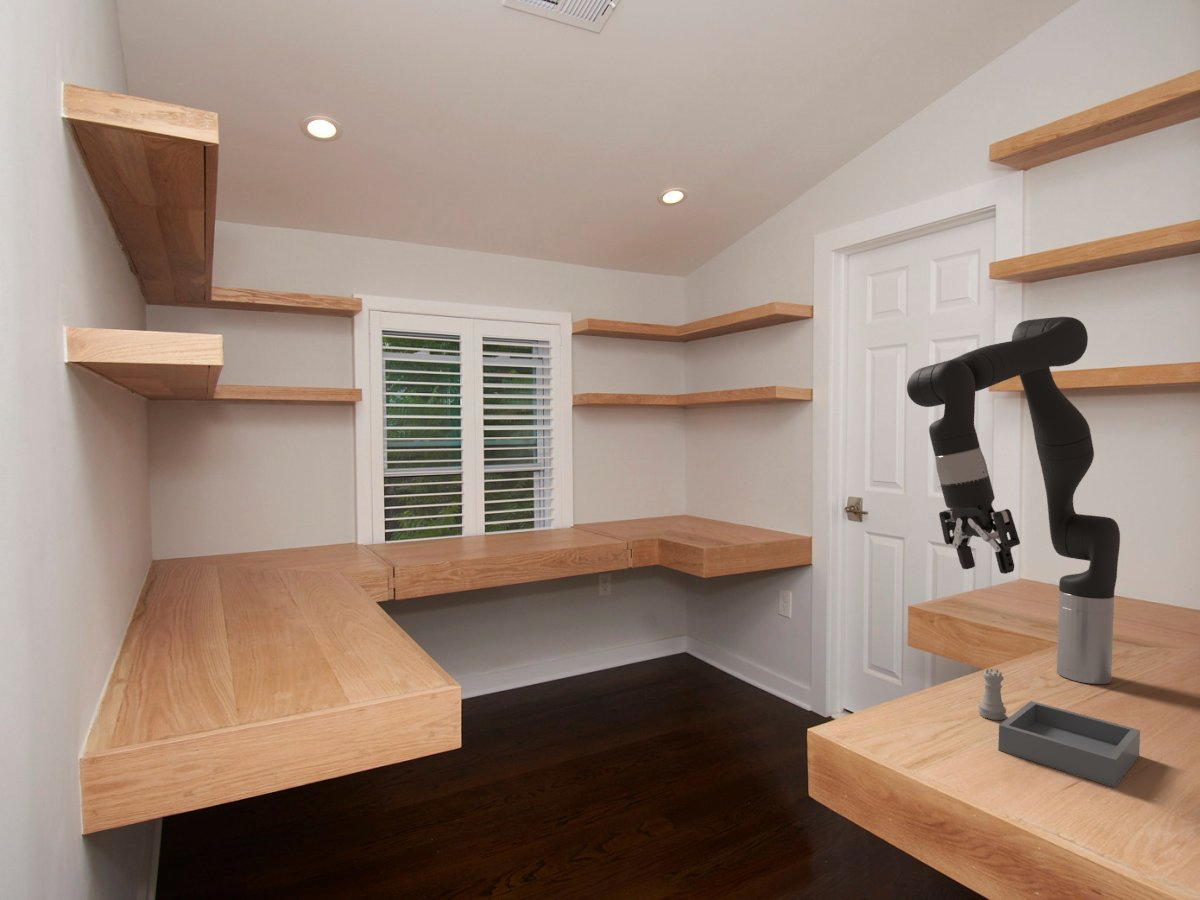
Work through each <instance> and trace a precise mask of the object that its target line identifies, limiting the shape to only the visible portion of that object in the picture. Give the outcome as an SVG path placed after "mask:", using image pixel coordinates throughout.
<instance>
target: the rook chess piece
mask: <svg viewBox="0 0 1200 900" xmlns="http://www.w3.org/2000/svg"><path fill="white" fill-rule="evenodd" d="M982 677H983V678H984V680H985V681H984V683H983V685H984V693H983V697H982V699H980V700H981V701H979V704H978V708H979V709H977V712H978V714H979V715H980V716H981V717H982V716H983V717H982V718H984V717H985V718H984V719H986V718H988V719H987V720H990V719H991V721H995V720H1002V721H1004V720H1006V719H1007V717H1008V716H1007V714H1006V713H1007V708H1006V707H1005V706H1004V702H1003V700H1002V687H1003V685H1002V683H1001V682H1003V681H1004V679H1005V677H1004V676H1003V674H1002V671H999V670H998V669H995V670H994V669H993V668H989V669H988V668H986V669H985V670H984V672H983V674H982ZM1003 719H1004V720H1003Z"/></svg>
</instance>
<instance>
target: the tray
mask: <svg viewBox="0 0 1200 900" xmlns="http://www.w3.org/2000/svg"><path fill="white" fill-rule="evenodd" d="M1140 738H1141V729H1138V728H1133V727H1130V726H1127V725H1123V724H1118V723H1115V722H1112V721H1107V720H1105V719H1100V718H1096V717H1092V716H1089V715H1085V714H1081V713H1078V712H1074V711H1070V710H1066V709H1064V708H1063V709H1062V708H1059V707H1055V706H1051V705H1048V704H1044V703H1040V702H1038V701H1037V702H1036V701H1033V700H1030V701H1028V702H1027V703H1026V704H1025V705H1023V706H1022V707H1021V708H1019V709H1018V710H1017V711H1016V712H1014V713H1013V714H1012V715H1010V716H1009V717H1008V718H1005V719H1004V720H1003V721H1001V723H1000V724H998V751H1000V752H1002V751H1003V753H1005V754H1006V753H1007V754H1009V755H1012V756H1016V757H1017V758H1018V757H1019V758H1022V759H1023V760H1024V759H1025V760H1027V759H1028V760H1027V761H1030V760H1031V762H1033V761H1034V763H1036V762H1037V764H1039V763H1040V765H1043V764H1044V765H1043V766H1046V765H1047V766H1046V767H1049V768H1052V769H1055V768H1056V769H1055V770H1059V771H1061V770H1062V771H1061V772H1064V771H1065V773H1068V774H1070V775H1074V776H1076V775H1078V777H1079V776H1080V778H1083V777H1084V778H1083V779H1086V778H1087V779H1086V780H1089V779H1091V780H1090V781H1092V780H1094V781H1093V782H1095V781H1096V782H1095V783H1098V782H1099V783H1098V784H1101V783H1102V785H1104V784H1105V785H1104V786H1107V785H1108V787H1110V786H1111V787H1110V788H1113V789H1116V788H1117V786H1118V785H1119V783H1120V782H1121V781H1120V780H1122V779H1123V778H1124V777H1123V776H1125V775H1126V774H1127V773H1128V771H1129V770H1130V769H1129V768H1131V767H1132V766H1133V764H1134V763H1135V762H1136V760H1138V757H1139V756H1140V748H1141V747H1140V744H1141V743H1140V742H1141V739H1140ZM1126 772H1127V773H1126ZM1124 774H1125V775H1124ZM1122 777H1123V778H1122ZM1119 781H1120V782H1119ZM1117 784H1118V785H1117Z"/></svg>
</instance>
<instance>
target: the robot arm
mask: <svg viewBox="0 0 1200 900" xmlns="http://www.w3.org/2000/svg"><path fill="white" fill-rule="evenodd" d="M1088 337H1089V336H1088V331H1087V328H1086V326H1085V324H1084V323H1083V322H1082V321H1081V320H1080V319H1077V318H1075V317H1071V316H1056V317H1044V318H1035V319H1026V320H1023V321H1020V322H1019V323H1018V324H1017V325H1016V326H1015V327H1014V329H1013V332H1012V336H1011V341H1005V342H999V343H993V344H989V345H985V346H982V347H979V348H977V349H974V350H971V351H968V352H965V353H963V354H961V355H959V356H957V357H954V358H953V359H949V360H944V361H942V362H941V361H940V362H937V363H935V364H931V365H928V366H924V367H923V366H922V367H921V368H918V369H917V370H915V371H914V372H913V373H912V374H911V375H910V377H909V379H908V381H907V383H906V384H907V385H906V392H907V395H908V397H909V399H910V400H911V401H912V402H913V403H914V404H915V405H917V406H920V407H924V408H932V407H937V406H942V405H944V411H943V416H942V418H939V419H937V420H935V421H934V422H932V423H931V424H930V425H929V428H928V433H929V438H930V441H931V445H932V450H933V454H934V457H935V465H936V466H935V467H936V472H937V475H938V479H939V482H940V488H941V491H942V495H943V499H944V500H943V501H944V504H945V506H946V508H947V509H946V510H943V511H940V512H939V514H938V516H939V521H940V526H941V531H942V535H943V540H944V543H945V544H946V545H952V547H953V548H954V549H956V553H957V555H958V560H959V564H960V565H961V568H962V569H963V570H970V569H973V568H975V567H976V562H975V558H974V556H973V555H974V554H973V551H972V546H971V545H970V542H971V538H972V537H973V536H974V537H977V538H981V539H982V540H983V541H985V542H986V543H989V545H990V546H991V547H992V548H993V550H994V551H995V552H994V554H995V558H996V562H997V565H998V571H999V573H1001V574H1009V573H1012V572H1014V571H1015V563H1014V559H1013V555H1012V551H1011V549H1012V548H1013V547H1016V546H1019V545H1020V543H1021V542H1020V538H1019V535H1018V531H1017V528H1016V524H1015V521H1014V519H1013V515H1012V512H1011V510H1010V509H1008V508H1005V509H1002V510H999V511H998V510H997V511H996V510H995V509H994V507H993V506H992V505H993V502H994V501H995V498H996V497H995V494H994V489H993V485H992V482H991V479H990V474H989V471H988V467H987V466H988V465H987V463H986V459H985V457H984V454H983V452H982V449H981V445H980V441H979V438H978V434H977V430H976V427H975V409H976V407H975V405H976V392H979V391H982V390H984V389H986V388H990V387H992V386H994V385H997V384H999V383H1002V382H1004V381H1007V380H1010V379H1013V378H1016V377H1019V380H1020V381H1021V385H1022V387H1023V390H1024V393H1025V396H1026V402H1027V405H1028V410H1029V415H1030V418H1031V423H1032V428H1033V435H1034V440H1035V441H1034V442H1035V447H1036V450H1037V455H1038V458H1039V459H1038V460H1039V464H1040V467H1041V473H1042V477H1043V482H1044V488H1045V493H1046V502H1047V511H1048V512H1047V513H1048V514H1047V515H1048V523H1049V526H1048V527H1049V533H1050V535H1049V536H1050V539H1051V543H1052V547H1053V549H1054V551H1055V552H1056V553H1057V554H1058V555H1059V556H1062V557H1064V558H1068V559H1075V560H1082V561H1088V562H1089V566H1088V569H1087V570H1086V571H1083V572H1080V573H1073V574H1067V575H1063V576H1061V577H1060V579H1059V582H1058V583H1059V587H1058V589H1059V591H1058V615H1057V616H1058V617H1057V618H1058V619H1057V646H1056V647H1057V648H1056V650H1057V651H1056V673H1057V674H1058V675H1059V676H1061V677H1063V678H1066V679H1068V680H1070V681H1071V680H1072V681H1074V682H1079V683H1085V684H1092V685H1105V684H1106V685H1107V684H1110V683H1111V682H1112V673H1113V672H1112V670H1113V669H1112V665H1113V642H1114V641H1113V639H1114V618H1115V617H1114V615H1115V611H1114V609H1115V608H1114V607H1115V589H1116V584H1117V577H1118V564H1119V563H1118V562H1119V555H1120V547H1121V546H1120V545H1121V532H1120V531H1121V530H1120V528H1119V525H1118V523H1117V521H1116V520H1115V519H1113V518H1112V517H1107V516H1100V515H1092V514H1091V515H1088V514H1081V513H1076V511H1075V508H1074V495H1075V493H1076V491H1077V488H1078V486H1079V485H1080V483H1081V482H1082V480H1083V479H1084V477H1085V476H1086V474H1087V473H1088V471H1089V469H1090V468H1091V466H1092V464H1093V461H1094V458H1095V450H1094V445H1093V444H1094V443H1093V439H1092V434H1091V428H1090V426H1089V425H1090V424H1089V423H1088V421H1087V419H1086V417H1084V415H1083V414H1082V413H1081V412H1080V410H1079V409H1078V408H1077V407H1076V406H1075V405H1074V404H1073V403H1072V402H1071V401H1070V400H1069V399H1068V398H1067V397H1066V396H1065V395H1064V394H1063V393H1062V391H1061V390H1060V388H1059V387H1058V386H1057V383H1056V382H1055V380H1054V377H1053V374H1052V372H1051V369H1050V367H1051V368H1052V367H1062V366H1063V367H1064V366H1068V365H1072V364H1074V363H1076V362H1077V361H1079V360H1080V359H1081V358H1082V357H1083V356H1084V354H1085V353H1086V350H1087V347H1088V342H1089V341H1088V340H1089V338H1088ZM951 532H952V536H951ZM1008 535H1009V537H1008Z"/></svg>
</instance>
